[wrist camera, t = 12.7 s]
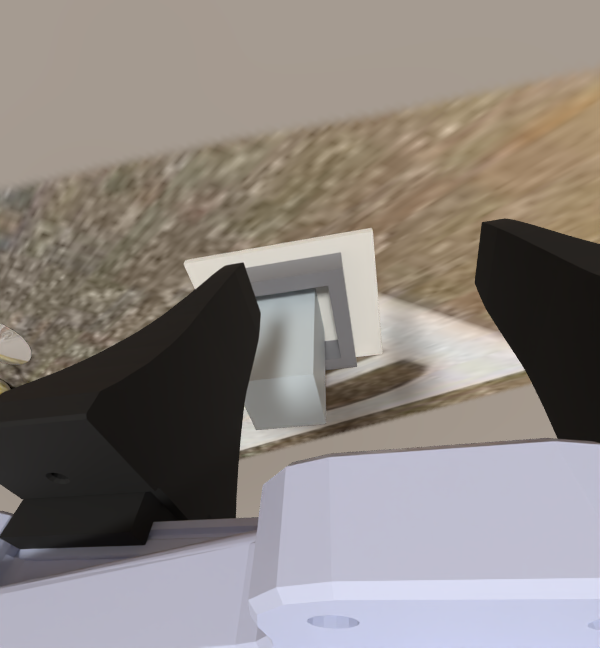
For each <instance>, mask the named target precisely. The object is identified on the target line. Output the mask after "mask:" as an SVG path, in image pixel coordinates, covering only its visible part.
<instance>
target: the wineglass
mask: <svg viewBox="0 0 600 648" xmlns="http://www.w3.org/2000/svg"><path fill="white" fill-rule="evenodd" d="M31 353H32V352H31V349H30V347H29V345H28V344H27V342H26V341H25V340H24V338H22V337H21V336H20V335H19V334H18V333H16V332H15V331H14V330H12V329H10V328H8V327H7V326H5V325H2V324H0V363H3V364H9V365H21V364H24V363H27V362H28V361H29V360H30V359H31Z"/></svg>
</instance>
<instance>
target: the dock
mask: <svg viewBox="0 0 600 648" xmlns="http://www.w3.org/2000/svg"><path fill="white" fill-rule="evenodd" d="M242 262H244V265H245V268H246V271H247V274H248V277H249V280H250V283H251V285H252V288H253V291H254V294H255V297H256V296H263V295H270V294H276V293H283V292H290V291H296V290H303V289H310V288H316V292H317V297H318V302H319V307H320V311H321V316H322V321H323V326H324V331H325V370H331V369H340V368H349V367H357V362H356V357H361V356H370V355H378V354H383V353H382V340H381V328H380V316H379V303H378V291H377V278H376V266H375V254H374V241H373V231H372V228H368V229H362V230H357V231H351V232H345V233H339V234H333V235H328V236H322V237H316V238H310V239H305V240H299V241H293V242H287V243H281V244H276V245H270V246H264V247H258V248H253V249H247V250H241V251H235V252H230V253H224V254H218V255H212V256H206V257H201V258H195V259H189V260H186V261H185V262H184V266H185V268H186V270H187V272H188V275H189V277H190V279H191V281H192V283H193V285H194V288H195V289H196V288H197V287H199V286H200V285H201V284H202V283H203V282H205V281H206V280H207V279H208V278H209V277H210V276H212V275H213V274H214V273H215V272H217V271H218V270H219V269H221V268H222V267H224V266H225V265H230V264H236V263H242Z"/></svg>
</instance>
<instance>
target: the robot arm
mask: <svg viewBox="0 0 600 648" xmlns="http://www.w3.org/2000/svg"><path fill="white" fill-rule="evenodd" d="M475 285H476V287H477V290H478V292H479V295H480V297H481V299H482V302H483V304H484V306H485V308H486V310H487V311H488V313H489V315H490V316H491V318H492V319H493V321H494V323H495V324H496V326H497V327H498V329H499V330H500V332H501V333H502V335H503V336H504V338H505V339H506V341H507V343H508V344H509V346H510V347H511V349H512V350H513V352H514V353H515V355H516V356H517V358H518V359H519V361H520V362H521V364H522V366H523V367H524V369H525V371H526V373H527V374H528V376H529V378H530V380H531V382H532V384H533V386H534V388H535V390H536V392H537V394H538V396H539V398H540V400H541V403H542V405H543V406H544V409H545V411H546V413H547V416H548V418H549V420H550V422H551V425H552V427H553V429H554V431H555V433H556V435H557V438H558V439H551V438H540V439H526V440H513V441H499V442H485V443H471V444H457V445H444V446H430V447H417V448H402V449H389V450H376V451H375V450H374V451H361V452H347V453H333V454H327V455H322V456H318V457H314V458H309V459H305V460H300V461H296V462H292V463H291V464H289V465H288V466H286V467H285V468H284V469H283V470H281V471H280V472H279V473H278V474H276V475H275V476H274V477H272V478H271V479H270V480H269V481H267V482H266V483H265V484H264V485H263V489H262V496H261V504H260V511H259V517H252V518H236V495H237V478H238V462H239V451H240V439H241V429H242V420H243V411H244V403H245V398H246V392H247V388H248V384H249V380H250V375H251V371H252V367H253V363H254V358H255V354H256V350H257V345H258V341H259V333H260V319H261V312H260V309H259V306H258V303H257V300H256V297H255V294H254V291H253V288H252V285H251V283H250V280H249V277H248V274H247V271H246V268H245V265H244V262H242V263H236V264H230V265H225V266H224V267H222V268H221V269H219V270H218V271H217V272H215V273H214V274H213V275H212V276H210V277H209V278H208V279H207V280H206V281H205V282H203V283H202V284H201V285H200V286H199V287H197V288H196V289H195V290H194V291H193V292H192V293H190V294H189V295H188V296H187V297H185V298H184V299H183V300H182V301H180V302H179V303H178V304H177V305H175V306H174V307H173V308H171V309H170V310H169V311H168V312H166V313H165V314H164V315H162V316H161V317H159V318H158V319H156V320H155V321H154V322H152V323H151V324H149V325H147V326H146V327H144V328H143V329H141V330H140V331H138V332H136V333H135V334H133V335H131V336H130V337H128V338H126V339H124V340H122V341H120V342H119V343H117V344H115V345H113V346H111V347H110V348H108V349H106V350H104V351H102V352H100V353H98V354H96V355H94V356H92V357H90V358H88V359H86V360H83V361H81V362H79V363H77V364H74V365H72V366H70V367H68V368H65V369H63V370H61V371H58V372H56V373H53V374H51V375H48V376H46V377H43V378H40V379H38V380H35V381H32V382H30V383H27V384H24V385H22V386H19V387H16V388H14V389H11V390H8V391H5V392H3V393H1V394H0V484H1V485H2V486H4V487H5V488H7V489H8V490H10V491H11V492H13V493H14V494H16V495H17V496H18V497H20V498H21V499H23V501H22V502H21V504H20V505H19V507H18V509H17V510H16V512H15V513H14V514H12V513H8V512H4V511H0V648H600V244H597V243H593V242H590V241H586V240H582V239H579V238H575V237H572V236H568V235H565V234H561V233H558V232H555V231H551V230H548V229H545V228H541V227H538V226H535V225H531V224H528V223H524V222H520V221H516V220H511V219H499V220H493V221H487V222H482V226H481V234H480V243H479V251H478V259H477V268H476V276H475Z"/></svg>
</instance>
